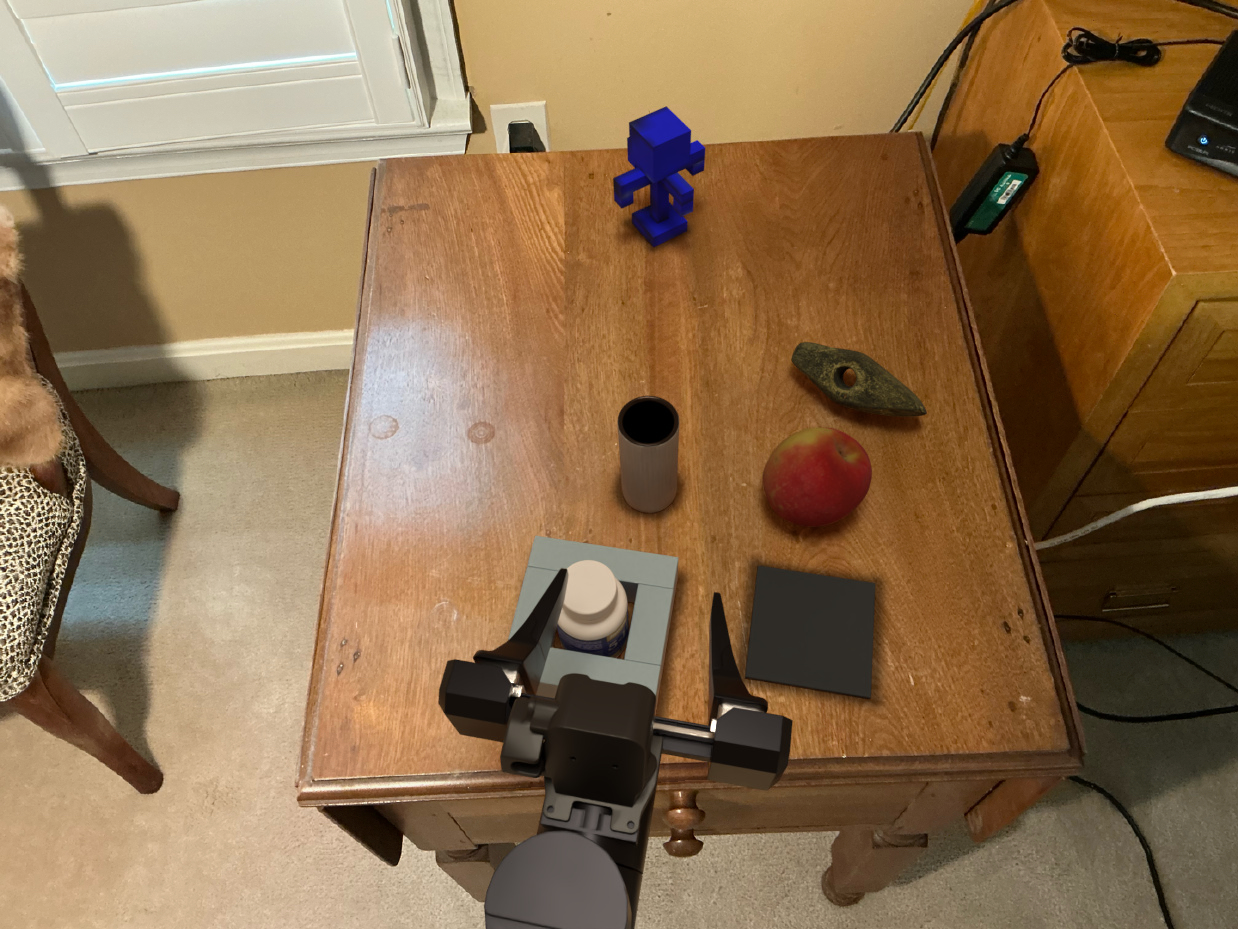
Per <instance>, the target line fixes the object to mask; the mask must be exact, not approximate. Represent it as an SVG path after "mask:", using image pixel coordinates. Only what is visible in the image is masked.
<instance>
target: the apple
mask: <svg viewBox="0 0 1238 929" xmlns="http://www.w3.org/2000/svg"><path fill="white" fill-rule="evenodd" d="M872 478H873V469H872V463H871V460H870V457H869V454H868V452H867V451H866V449H865V448H864V447H863V445H862V444H861V443H860V442H859V441H858V440H857V439H856V438H854V437H852V436H851V435H849V434H848V433H846V432H844V431H842V430H840V429H837V428H833V427H826V426H825V427H823V426H822V427H821V426H817V427H816V426H815V427H808V428H804V429H800V430H798V431H796V432H794V433H792V434H790V435H789V436H787V437H786V438H784V439H783V440H782V441H781V442H780V443H779V444H778V445H776V447H775V448H774V449H773V451H772V452H771V454H770V455H769V457H768V459H767V461H766V463H765V465H764V467H763V471H762V487H763V492H764V496H765V498H766V500H767V502H768V505H769V506H770V508H771V509H772V510H773V512H774V513H775V514H776V515H777V516H778V517H780V518H781V519H782V520H784V521H786V522H789V523H790V524H794V525H795V526H800V527H806V528H807V527H808V528H816V527H818V528H819V527H823V526H828V525H831V524H834V523H836V522H838V521H841V520H842V519H844V518H846V517H847V516H848V515H849V514H851V513H852V512H853V511H854V510H855V509H856V508H858V507H859V506H860V504H861V503H862V502H863V501H864V500H865V498H866V497H867V494H868V492H869V490H870V488H871V483H872Z"/></svg>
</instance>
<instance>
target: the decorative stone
mask: <svg viewBox="0 0 1238 929" xmlns="http://www.w3.org/2000/svg"><path fill="white" fill-rule="evenodd" d="M790 361H791V363H792V364H793V366H794V367H795V368H796V369H797V370H799V371H800V372H801V373H802V375H804V376H805V378H807V379H808V380H810V381H811V383H812V384H814V386H815V387H816V388H817V389H819V391H820V392H822V393H823V395H824V396H826V397H827V398H828V399H829V400H830V401H832V402H833V403H835V404H837V405H839V406H841V407H844V408H848V409H851V410H854V411H858V412H862V413H868V414H874V415H878V416H879V415H880V416H881V415H882V416H888V417H902V418H915V417H922V416H926V415H928V410H927V409H926V407H925V405H924V403H923V401H922V400H921V399H920V397H918V395H917V394H915V392H914V391H913V390H912V389H910V388H909V387H908V386H906V385H905V384H904V383H903V382H902V381H901V380H899V379H898V378H897V377H896V376H895V375H894V374H892V373H891V372H890V371H888V370H887V369H886V368H884V367H883V365H882V364H879V363H878V362H877V361H876V360H874V359H873V358H871V357H870V356H869V355H867V354H866V353H863V352H862V351H858V350H853V349H848V348H840V347H835V346H828V345H824V344H821V343H816V342H811V341H802V342H799V343H798V344H797V345H796V347H795V348H794V350H793V352H792V354H791V359H790ZM847 370H852V371H853V373H854V375H855V382H854V384H853V385H852V386H850V385H848V384H847V383H846V382H845V379H844V375H845V373H846V372H847Z"/></svg>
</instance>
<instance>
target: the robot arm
mask: <svg viewBox="0 0 1238 929" xmlns="http://www.w3.org/2000/svg"><path fill="white" fill-rule="evenodd" d="M568 576H569V575H568V570H567V569H564V568H561V569H560V570H559V572H558V573H557V575H556V576H555V578H554V579H553V581H552V582H551V584H550V585H549V587H548V588H547V590H546V591H545V593H544V594H543V596H542V597H541V599H540V600H539V602H538V603H537V605H536V606H535V608H534V609H533V612H531V614H530V615H529V616H528V618H527V619H526V621H525V622H524V623H523V624H522V626H521V627H520V628H519V629H518V630H517V631H516V633H515V634H514V635H513V636H512V637H511V638H510V639H509V640H508V639H507V640H506V641H505V642H504V643H502V644H500V645H499V646H498V647H496V648H495V649H492V650H486V649H478V650H476V651H475V653H474V655H473V656H472V659H473V661H469V660H462V659H456V658H454V659H450V660H447V661H446V664H445V668H444V671H443V675H442V678H441V681H440V685H439V689H438V701H437V703H438V705H439V707H440V709H441V711H442V712H443V714H444V716H445V717H446V719H448V721H449V722H450V723H451V725H452V726H453V727H454V729H455V730H456V732H457V733H458V734H459V735H460V736H465V737H470V738H476V739H481V740H488V741H492V742H498V743H502V746H501V750H500V755H499V761H500V770H501V772H502V773H504V774H505V773H506V774H510V775H516V776H520V777H527V778H532V779H539V778H540V777H543V782H544V783H543V784H544V791H545V792H544V799H543V802H542V808H541V812H540V818H539V821H538V827H537V830H536V834H534V835H531V836H530V837H527V838H526V839H525V840H523V841H521V842H520V843H518V844H517V845H515V846H514V847H513V848H512V849H511V850H510V851H509V852H508V853H507V854H506V855H505V856H504V857H503V858H502V859H501V861H500V862H499V864H498V865H497V867H496V869H495V870H494V872H493V874H492V876H491V879H490V881H489V884H488V886H487V889H486V893H485V899H484V904H483V909H484V910H483V912H484V926H485V929H636V921H637V915H638V910H639V909H638V908H639V903H640V896H641V889H642V882H643V878H644V877H643V876H644V871H645V865H646V858H647V853H648V852H647V851H648V845H649V839H650V833H651V826H652V819H653V813H654V805H655V799H656V793H657V788H658V782H659V776H660V775H659V774H660V770H661V768H660V767H661V761H662V755H667V756H672V757H677V758H684V759H689V760H695V761H700V762H705V763H708V765H707V773H706V780H707V781H709V782H710V781H711V782H717V783H722V784H726V785H732V786H737V787H744V788H747V789H748V788H749V789H755V790H759V791H760V790H761V791H764V792H768V791H769V790H770V789H772V788H773V787H774V786H776V784H778V783H779V782H780V780H781V778H782V776H783V775H784V773H785V772H786V769H787V767H788V766H789V761H790V760H789V759H790V754H791V746H792V735H793V734H792V733H793V723H794V722H793V719H791V718H789V717H787V716H785V715H781V714H775V713H771V712H768V711H769V702H768V700H767V699H766V698H764V697H761V696H757V695H752V694H751V693H750V691H749V690H748V688H747V686H746V684H745V683H744V681H743V679H742V676H741V673H740V671H739V667H738V665H737V662H736V659H735V654H734V652H733V647H732V644H731V638H730V633H729V628H728V622H727V618H726V614H725V609H724V603H723V599H722V594H721V592H717V591H713V595H712V602H711V609H710V614H709V616H710V617H709V622H708V623H709V625H708V692H707V693H708V697H707V698H708V704H707V710H708V711H707V716H708V717H707V724H703V723H697V722H692V721H685V720H680V719H675V718H670V717H669V718H668V717H662V716H659V715H656V714H655V708H656V696H655V694H654V692H653V691H652V690H651V689H649V688H648V687H646V686H644V685H641V684H637V683H632V682H628V683H626V684H617V683H611V682H605V681H600V680H594V679H591V678H590V677H589V676H588V675H585V674H579V673H570V674H566V675H564V676H563V677H562V678H561V679H560V681H559V685H558V688H557V691H556V695H555V698H549V697H544V696H538V695H536V693H537V690H538V686H539V683H540V680H541V676H542V673H543V670H544V667H545V663H546V660H547V657H548V653H549V650H550V647H551V643H552V640H553V637H554V633H555V630H556V627H557V623H558V620H559V617H560V613H561V610H562V607H563V603H564V600H565V594H566V588H567V582H568ZM656 709H657V708H656Z"/></svg>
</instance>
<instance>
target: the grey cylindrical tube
mask: <svg viewBox="0 0 1238 929" xmlns="http://www.w3.org/2000/svg"><path fill="white" fill-rule="evenodd" d="M616 421H617V424H616V425H617V438H618V453H619V454H618V455H619V469H620V482H621V492H622V497H623V498H624V500H625V502H626V503H627V504H628V505H629V507H631V508H632V509H634V510H636V511H638V512H640V513H645V514H652V513H653V514H654V513H658V512H661V511H663V510H665V509H667V508H668V507H669V506H670V505H671V504H672V503H673V502H674V500H675V499H676V496H677V489H678V471H679V470H678V469H679V446H680V444H679V443H680V416H679V412H678V411H677V409H676V408H675V406H674V405H673V404H672V403H671V402H670V401H668V400H667V399H665V398H663V397H659V396H656V395H642V396H637V397H634V398H632V399H630V400H629V401H628V402H627V403H625V404H624V405H623V406H622V407H621V409H620V411H619V413H618V416H617V419H616Z"/></svg>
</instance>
